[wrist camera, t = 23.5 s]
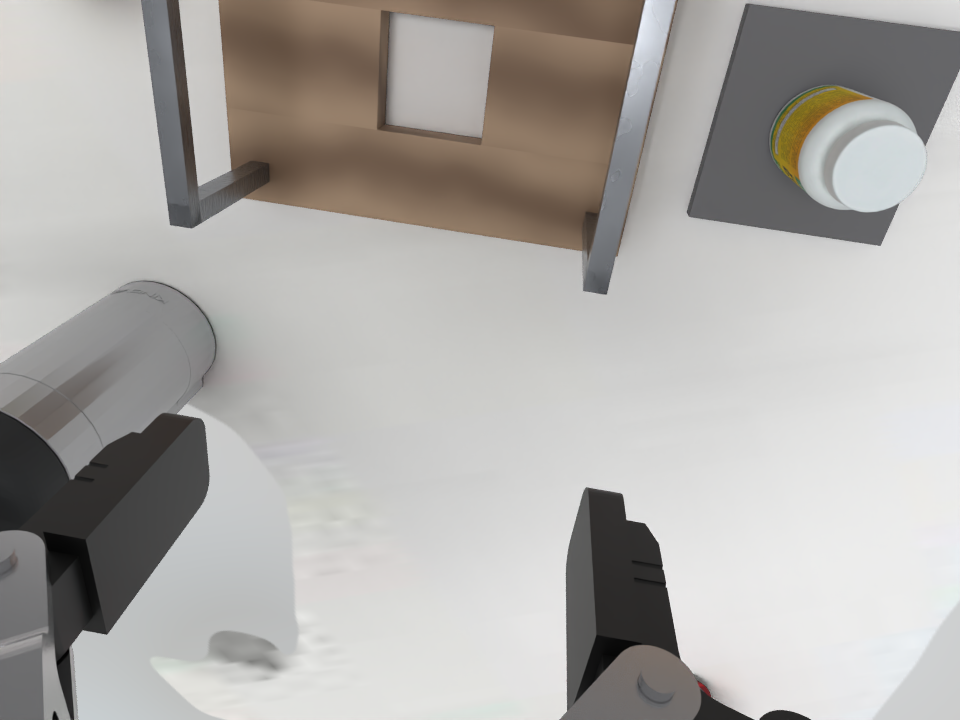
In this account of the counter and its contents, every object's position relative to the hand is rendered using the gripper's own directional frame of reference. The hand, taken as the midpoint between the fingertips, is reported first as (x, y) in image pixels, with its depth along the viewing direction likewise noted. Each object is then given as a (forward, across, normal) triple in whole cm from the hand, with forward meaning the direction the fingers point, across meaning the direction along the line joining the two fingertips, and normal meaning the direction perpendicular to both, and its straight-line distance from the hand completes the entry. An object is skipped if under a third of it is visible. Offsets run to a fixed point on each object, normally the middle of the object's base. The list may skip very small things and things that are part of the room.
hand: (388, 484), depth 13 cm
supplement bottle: (+32, -18, -5) cm, 36 cm away
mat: (+32, -18, -5) cm, 37 cm away
